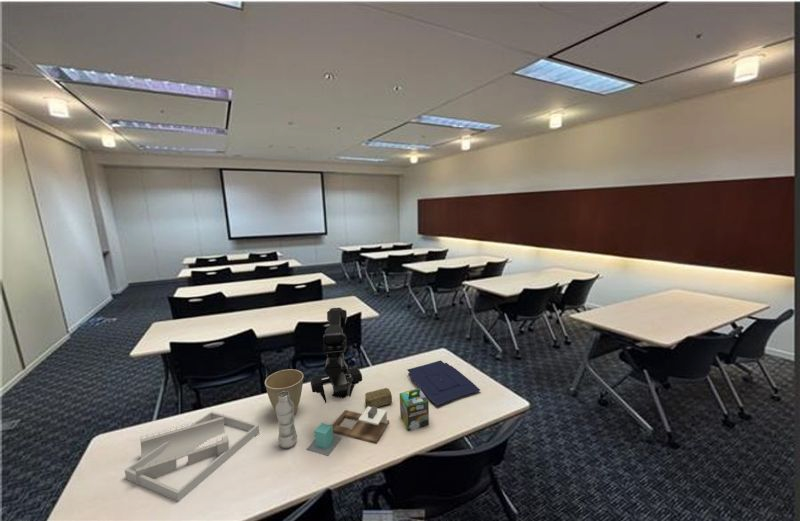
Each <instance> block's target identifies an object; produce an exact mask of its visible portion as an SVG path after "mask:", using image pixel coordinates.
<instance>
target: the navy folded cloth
mask: <svg viewBox="0 0 800 521" xmlns="http://www.w3.org/2000/svg"><path fill="white" fill-rule="evenodd" d="M406 370H407V372H408V373H407V374H408V376H409V378H410V379H411V380H412V381H413V382H414V383H415V384H416V385H417V386H418V388H420V389H421V391H422V392H423V393H424V395H425V396H426V397H427V399H428V400H429V401H431V402H433V404H434V405H435V406H439V405H442V404H444V403H447V402H449V401H452V400H454V399H457V398H460V397H463V396H466V395H469V394H472V393H475V392H479V391H481V389H480V388H479V387H478V386H477V385H476V384H475V383H474V382H473V381H471V380H470V379H469V378H468V377H466V376H465V375H463V373H462V372H460V371H459V370H458V369H457V368H455V367H454V366H453V365H450V364H449V363H448V362H444V361H442V359H440V360H437V361H433V362H431V363H427V364H423V365H419V366H415V367H411V368H408V369H406Z"/></svg>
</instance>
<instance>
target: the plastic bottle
mask: <svg viewBox="0 0 800 521" xmlns="http://www.w3.org/2000/svg"><path fill="white" fill-rule="evenodd" d="M278 397H279V398H278V400H279V402H278V404H277V405H276V412H275V414H276V417H277V418H276V419H277V422H278V436H277V437H278V438H277V439H278V440H277V442H278V444H279V446H280V447H281V448H283V449H290V448H292V447H293V446H294V445H295V444H296V442H297V440H298V439H297V438H298V435H297V430H296V426H295V425H296V424H295V417H294V416H295V415H294V403H293V402H292V401H291V400H290V399H289V398H290V396H289V392H288V391H283V392H281V393H279V395H278Z"/></svg>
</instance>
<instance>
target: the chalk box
mask: <svg viewBox="0 0 800 521" xmlns="http://www.w3.org/2000/svg"><path fill="white" fill-rule="evenodd" d="M429 401H430V399H429V398H428V397H427V395H426V394H425V393H424V392H423V391H422V390H421V389H420V387H418V388H415V389H409V390H407V391H403V392H401V393H399V410H400V412H399V413H400V416H399V417H400V420H401V421H402V423H403V425H404V427H405V429H406V431H407V432H412V431H415V430H419V429H423V428H426V427H428V426H430V422H429V420H430V418H429V417H430V415H429V413H430V411H429V408H430V407H429V406H430V402H429Z"/></svg>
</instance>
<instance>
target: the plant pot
mask: <svg viewBox="0 0 800 521" xmlns="http://www.w3.org/2000/svg"><path fill="white" fill-rule="evenodd" d="M303 384H304V373H303V372H302V371H300V370H298V369H292V368H291V369H289V368H288V369H282V370H279V371H276V372H274V373H272V374H270V375H268V377H266V379H265V381H264V386H265V389H266V393H267V396H268V399H269V401H270V404H271V406H272V409H273V410H274V412H275V413H276V405H277V404H278V402H279V400H278V398H279V397H278V395H279V393H281V392H283V391H288V392H289V396H290V398H289V399H290V400H291V401H292V402H293V403H294V416H295V415H296V413H297V411H298V408H299V404H300V401H301V396H302V392H303Z"/></svg>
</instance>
